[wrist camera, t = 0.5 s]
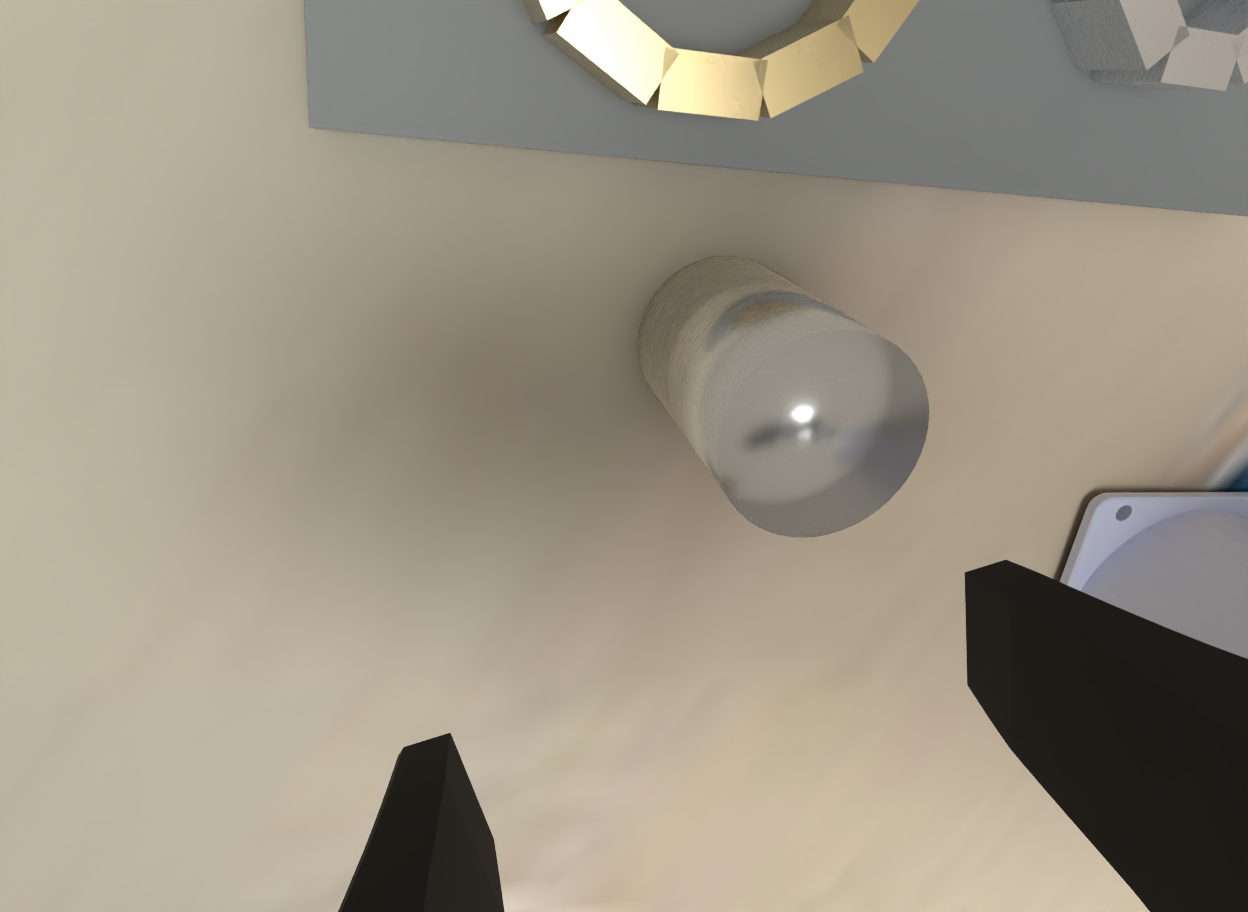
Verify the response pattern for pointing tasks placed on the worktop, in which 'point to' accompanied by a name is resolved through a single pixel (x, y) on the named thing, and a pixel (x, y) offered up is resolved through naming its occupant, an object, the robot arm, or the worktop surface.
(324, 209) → the worktop surface
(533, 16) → the wide socket
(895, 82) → the fitting board
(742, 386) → the metal cylinder peg
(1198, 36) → the narrow socket
